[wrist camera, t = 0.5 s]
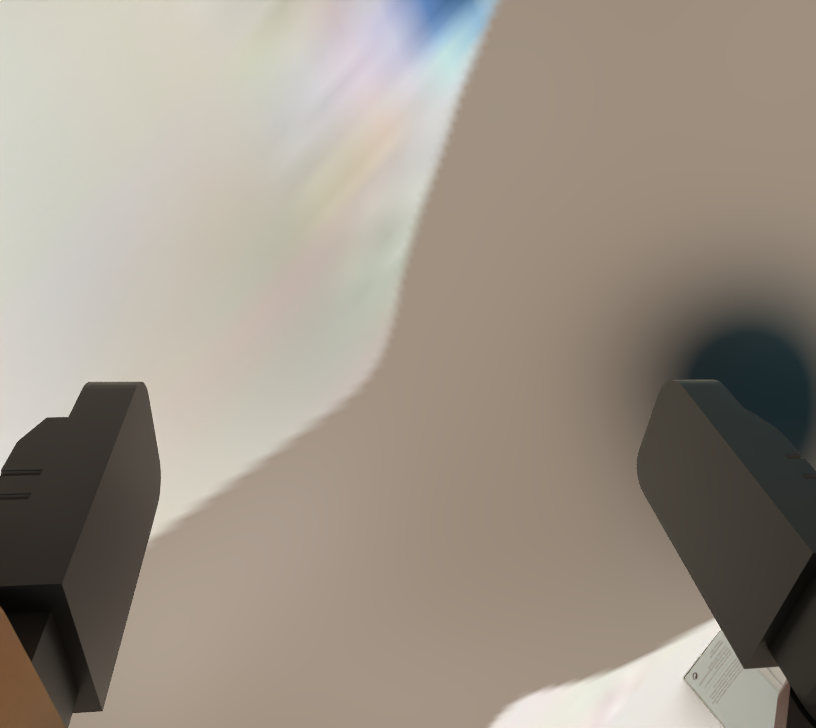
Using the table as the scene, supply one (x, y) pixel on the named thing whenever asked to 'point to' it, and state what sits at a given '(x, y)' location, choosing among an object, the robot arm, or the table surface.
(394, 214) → the table surface
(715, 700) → the skincare box
